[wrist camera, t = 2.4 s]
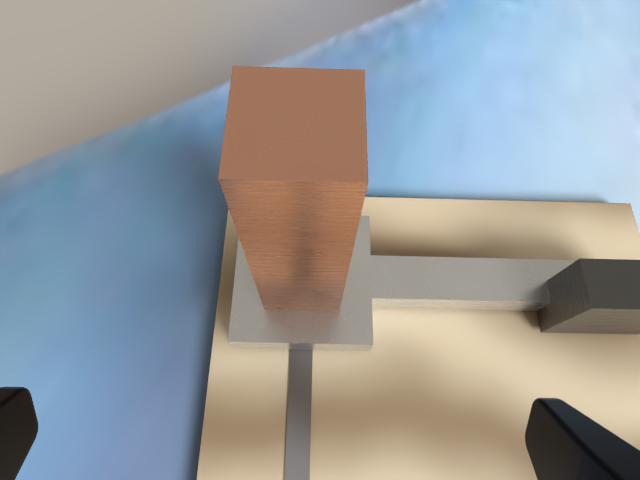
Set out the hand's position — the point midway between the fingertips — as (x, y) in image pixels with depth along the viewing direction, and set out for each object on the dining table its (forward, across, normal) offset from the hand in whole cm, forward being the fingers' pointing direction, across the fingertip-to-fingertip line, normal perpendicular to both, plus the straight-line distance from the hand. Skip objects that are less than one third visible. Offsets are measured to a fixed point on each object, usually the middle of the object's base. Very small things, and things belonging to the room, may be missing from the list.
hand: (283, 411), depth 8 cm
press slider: (+12, -6, +4) cm, 14 cm away
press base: (+9, -6, +9) cm, 14 cm away
